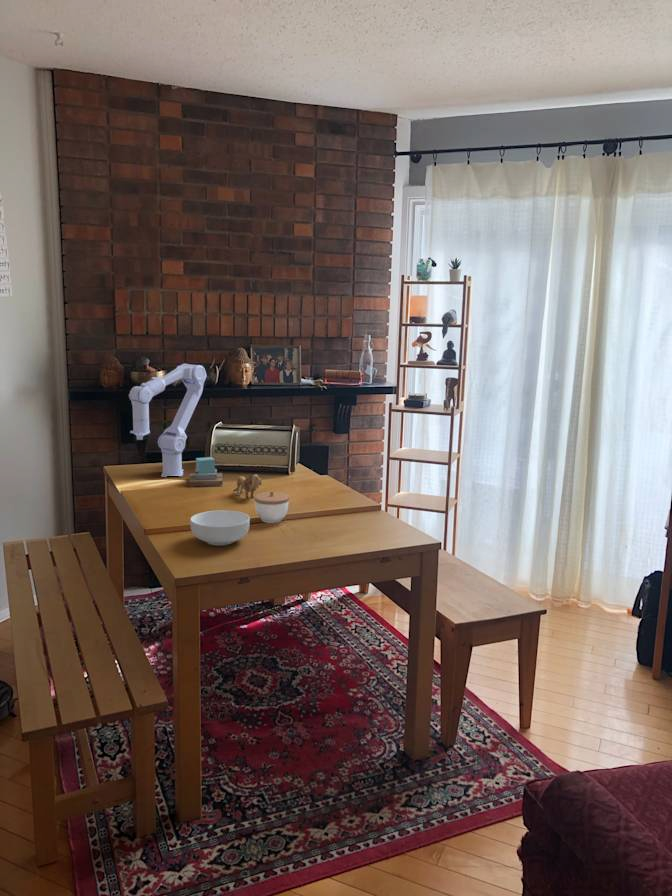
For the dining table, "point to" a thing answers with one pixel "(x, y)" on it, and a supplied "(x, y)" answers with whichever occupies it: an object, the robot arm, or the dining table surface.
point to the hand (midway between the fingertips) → (142, 455)
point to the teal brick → (205, 465)
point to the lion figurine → (248, 485)
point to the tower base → (205, 479)
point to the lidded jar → (271, 506)
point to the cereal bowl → (220, 526)
